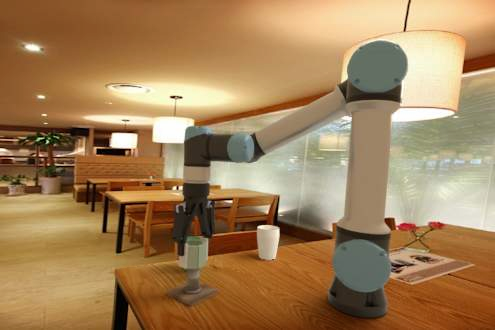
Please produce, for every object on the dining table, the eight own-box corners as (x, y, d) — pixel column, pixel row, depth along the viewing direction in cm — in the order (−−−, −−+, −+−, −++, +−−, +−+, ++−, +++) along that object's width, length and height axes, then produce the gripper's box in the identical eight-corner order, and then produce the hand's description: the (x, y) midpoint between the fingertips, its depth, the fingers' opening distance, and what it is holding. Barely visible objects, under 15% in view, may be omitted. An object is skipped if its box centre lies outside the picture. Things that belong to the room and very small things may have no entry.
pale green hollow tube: (210, 263, 83) (211, 242, 83) (192, 270, 77) (193, 248, 77) (193, 258, 87) (194, 238, 87) (174, 264, 81) (175, 242, 81)
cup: (278, 254, 120) (279, 225, 120) (278, 262, 111) (279, 230, 111) (256, 253, 121) (257, 224, 121) (255, 260, 112) (256, 229, 112)
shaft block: (217, 293, 83) (218, 261, 83) (191, 306, 75) (192, 271, 75) (193, 283, 89) (194, 254, 89) (166, 294, 81) (167, 262, 81)
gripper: (211, 179, 92) (208, 252, 92) (158, 182, 76) (155, 269, 76) (229, 181, 87) (226, 257, 88) (177, 184, 71) (174, 277, 72)
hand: (193, 263), depth 82 cm, fingers closed on pale green hollow tube, 7 cm apart
